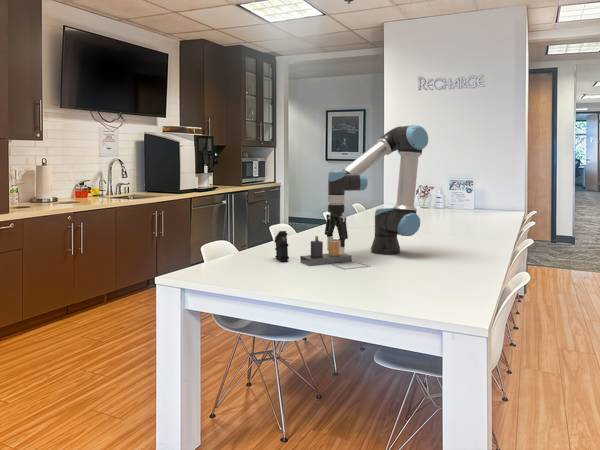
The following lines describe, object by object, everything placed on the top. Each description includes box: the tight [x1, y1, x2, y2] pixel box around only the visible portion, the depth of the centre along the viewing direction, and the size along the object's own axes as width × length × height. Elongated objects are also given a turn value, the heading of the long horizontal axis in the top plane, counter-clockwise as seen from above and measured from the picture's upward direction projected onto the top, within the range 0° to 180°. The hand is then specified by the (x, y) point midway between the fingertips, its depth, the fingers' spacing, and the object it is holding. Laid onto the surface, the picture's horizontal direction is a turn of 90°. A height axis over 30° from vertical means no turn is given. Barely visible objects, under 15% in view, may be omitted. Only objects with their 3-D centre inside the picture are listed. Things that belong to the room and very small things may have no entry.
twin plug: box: [310, 235, 324, 258], centre depth 236 cm, size 4×4×12 cm
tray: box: [329, 260, 372, 271], centre depth 231 cm, size 14×12×1 cm
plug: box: [328, 238, 340, 256], centre depth 240 cm, size 4×4×10 cm
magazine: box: [273, 230, 290, 263], centre depth 243 cm, size 4×13×15 cm, turn 16°
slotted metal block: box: [299, 252, 353, 267], centre depth 239 cm, size 22×9×4 cm, turn 117°
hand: (335, 252), depth 240 cm, fingers open, 10 cm apart
